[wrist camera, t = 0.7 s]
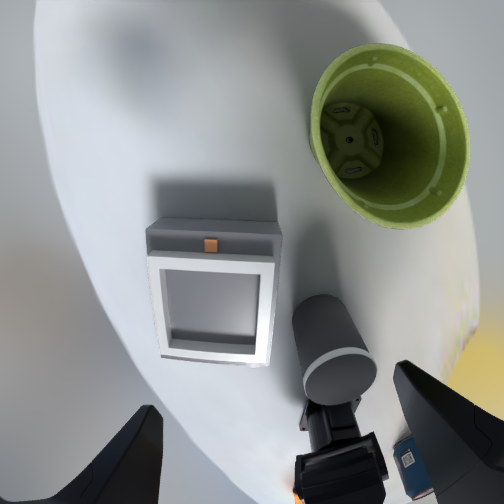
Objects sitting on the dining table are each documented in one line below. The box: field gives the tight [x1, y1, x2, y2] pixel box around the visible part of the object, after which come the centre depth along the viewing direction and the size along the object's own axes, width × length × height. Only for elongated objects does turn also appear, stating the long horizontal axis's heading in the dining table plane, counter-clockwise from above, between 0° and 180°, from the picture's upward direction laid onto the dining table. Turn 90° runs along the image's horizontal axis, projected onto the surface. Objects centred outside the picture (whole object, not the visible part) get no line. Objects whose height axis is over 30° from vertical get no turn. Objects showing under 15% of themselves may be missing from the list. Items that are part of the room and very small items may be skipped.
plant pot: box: [309, 43, 470, 229], centre depth 14 cm, size 9×9×9 cm
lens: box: [292, 295, 377, 405], centre depth 20 cm, size 5×5×8 cm
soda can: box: [393, 435, 434, 501], centre depth 27 cm, size 7×7×12 cm
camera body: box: [146, 218, 282, 368], centre depth 20 cm, size 11×9×5 cm
